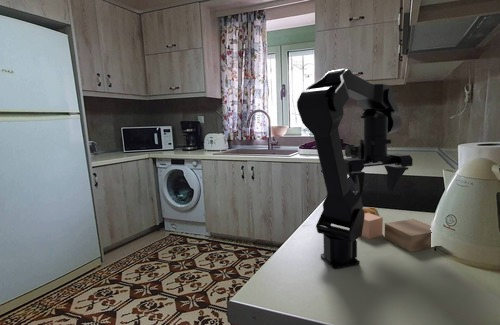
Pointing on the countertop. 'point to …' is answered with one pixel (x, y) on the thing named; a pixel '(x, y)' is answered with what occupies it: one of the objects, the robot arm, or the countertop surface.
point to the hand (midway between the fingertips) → (374, 194)
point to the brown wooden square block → (409, 234)
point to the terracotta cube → (372, 226)
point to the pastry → (371, 211)
